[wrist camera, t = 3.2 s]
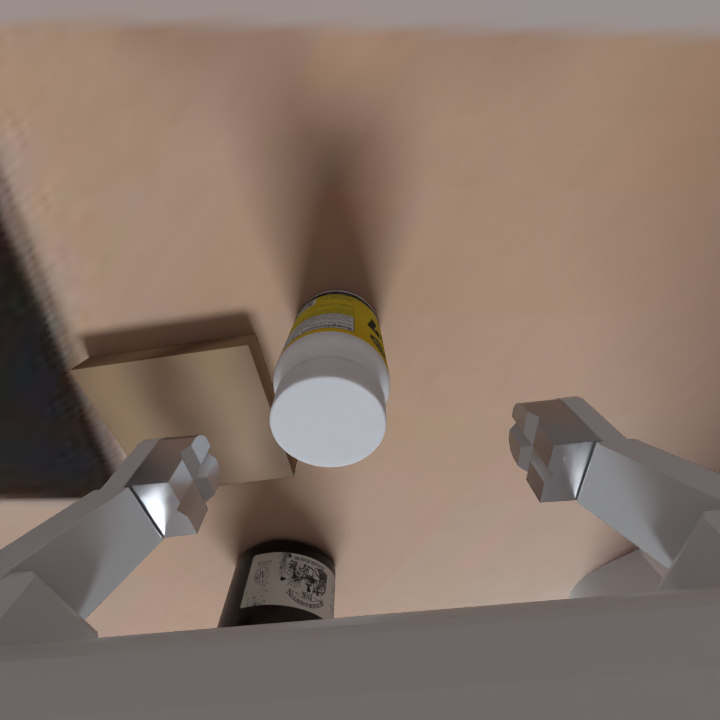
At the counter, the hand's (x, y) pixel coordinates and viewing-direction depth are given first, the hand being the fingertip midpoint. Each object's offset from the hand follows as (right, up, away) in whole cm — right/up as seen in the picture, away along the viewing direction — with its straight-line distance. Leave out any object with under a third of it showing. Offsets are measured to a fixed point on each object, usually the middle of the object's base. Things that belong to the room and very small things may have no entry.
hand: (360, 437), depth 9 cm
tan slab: (-10, -1, +13) cm, 16 cm away
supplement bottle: (-1, +4, +10) cm, 11 cm away
